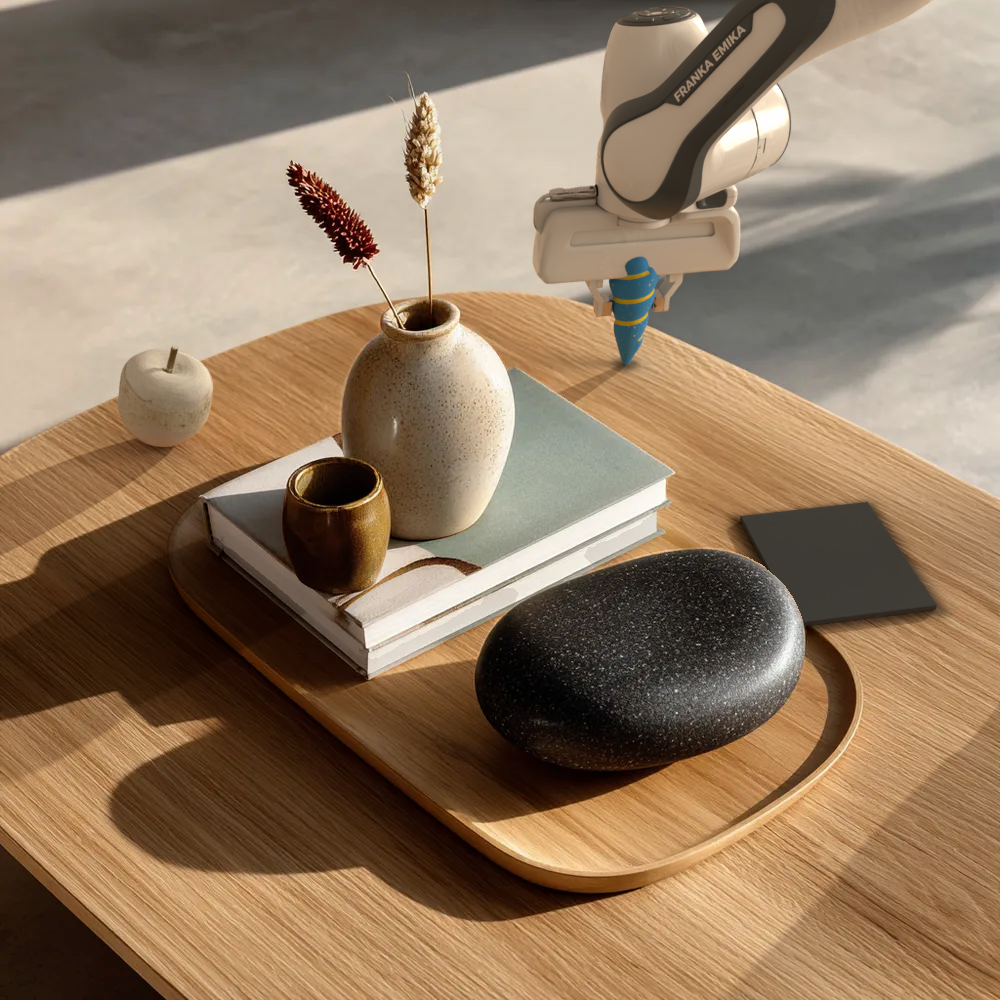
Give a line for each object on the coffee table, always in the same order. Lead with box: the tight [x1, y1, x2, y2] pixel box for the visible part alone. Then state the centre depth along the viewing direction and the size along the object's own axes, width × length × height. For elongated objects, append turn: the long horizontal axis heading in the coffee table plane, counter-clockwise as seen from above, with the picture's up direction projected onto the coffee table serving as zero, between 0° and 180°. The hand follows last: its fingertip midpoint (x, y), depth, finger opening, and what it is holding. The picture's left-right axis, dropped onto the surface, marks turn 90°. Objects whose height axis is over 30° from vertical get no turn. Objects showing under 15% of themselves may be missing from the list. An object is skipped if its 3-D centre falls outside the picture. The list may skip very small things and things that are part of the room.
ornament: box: [608, 257, 660, 366], centre depth 134 cm, size 5×5×15 cm
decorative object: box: [117, 345, 214, 448], centre depth 123 cm, size 9×9×10 cm
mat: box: [739, 501, 938, 627], centre depth 113 cm, size 12×14×1 cm
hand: (630, 311), depth 134 cm, fingers closed on ornament, 4 cm apart
